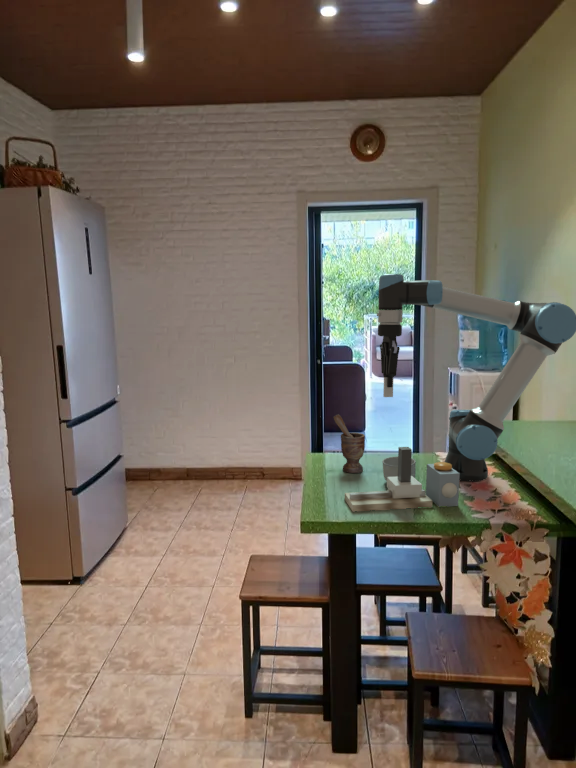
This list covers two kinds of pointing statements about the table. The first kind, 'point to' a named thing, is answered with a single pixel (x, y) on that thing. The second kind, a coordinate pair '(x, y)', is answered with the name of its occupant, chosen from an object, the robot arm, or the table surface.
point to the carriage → (404, 477)
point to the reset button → (442, 466)
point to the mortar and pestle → (351, 447)
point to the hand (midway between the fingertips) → (388, 396)
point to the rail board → (384, 501)
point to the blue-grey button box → (442, 486)
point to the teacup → (395, 467)
